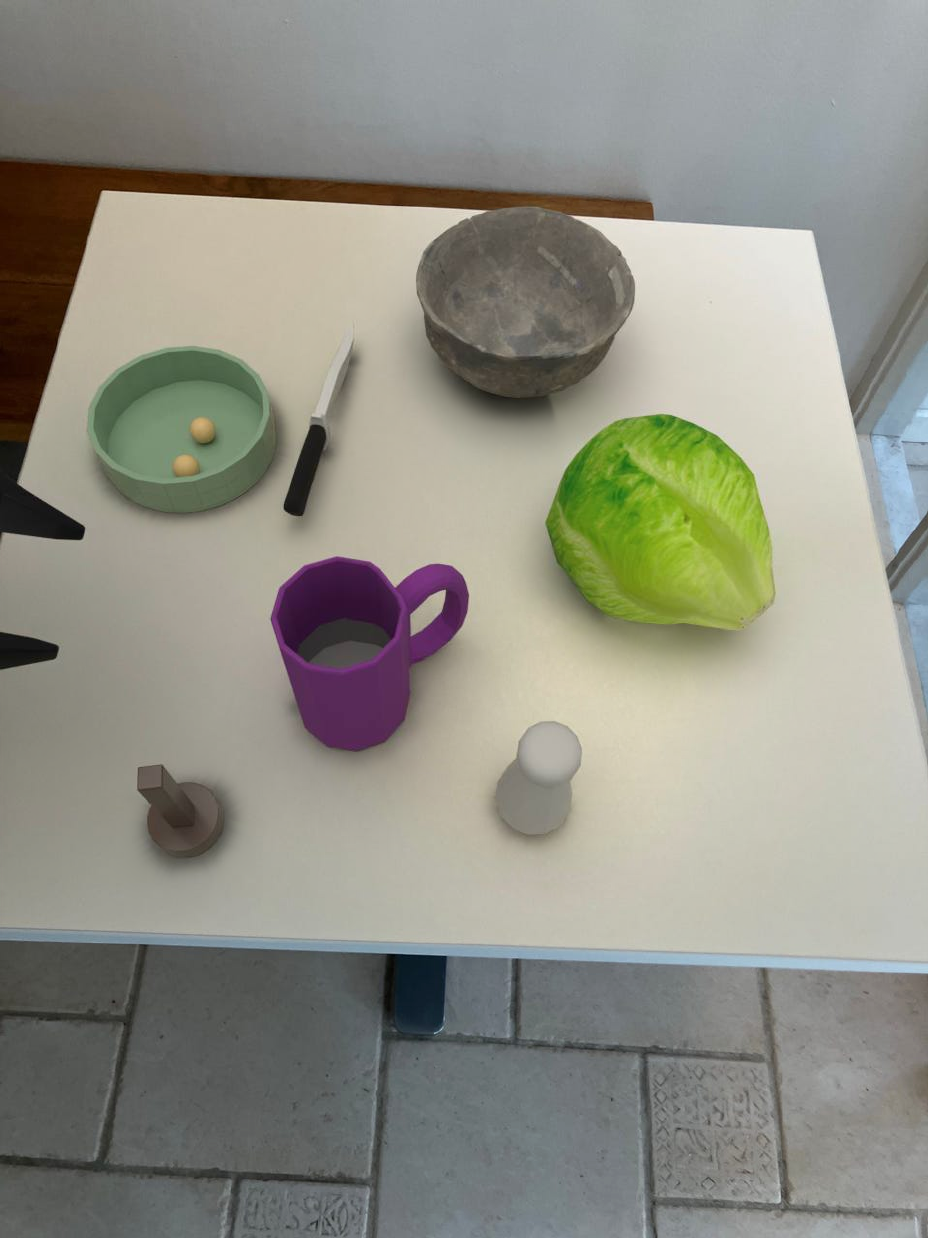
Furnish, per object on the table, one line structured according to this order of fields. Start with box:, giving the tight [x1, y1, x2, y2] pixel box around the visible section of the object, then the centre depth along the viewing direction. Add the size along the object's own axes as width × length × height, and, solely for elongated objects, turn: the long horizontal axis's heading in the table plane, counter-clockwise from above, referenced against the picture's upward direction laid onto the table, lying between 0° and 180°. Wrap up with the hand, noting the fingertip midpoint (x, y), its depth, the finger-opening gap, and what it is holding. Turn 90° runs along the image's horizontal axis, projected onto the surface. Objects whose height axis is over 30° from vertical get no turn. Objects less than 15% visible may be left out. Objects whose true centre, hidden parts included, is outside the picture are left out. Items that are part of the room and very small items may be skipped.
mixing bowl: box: [86, 345, 277, 514], centre depth 82 cm, size 16×16×4 cm
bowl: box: [415, 206, 636, 399], centre depth 87 cm, size 21×21×10 cm
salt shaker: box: [494, 720, 583, 836], centre depth 63 cm, size 6×6×13 cm
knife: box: [282, 322, 355, 517], centre depth 84 cm, size 25×2×5 cm, turn 171°
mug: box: [270, 555, 470, 752], centre depth 67 cm, size 9×16×15 cm, turn 126°
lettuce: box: [544, 413, 776, 631], centre depth 73 cm, size 17×20×15 cm
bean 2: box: [189, 417, 216, 443], centre depth 83 cm, size 2×2×2 cm
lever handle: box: [136, 763, 225, 859], centre depth 62 cm, size 5×5×11 cm
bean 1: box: [172, 455, 200, 477], centre depth 81 cm, size 2×2×2 cm
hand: (71, 590), depth 54 cm, fingers open, 9 cm apart
